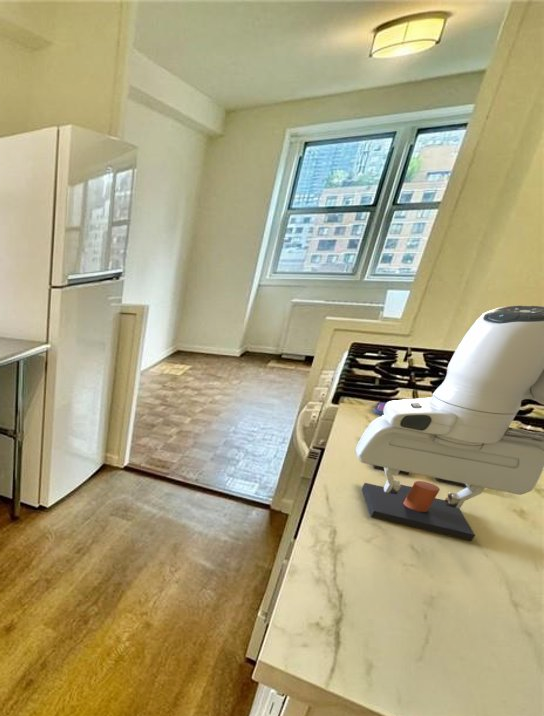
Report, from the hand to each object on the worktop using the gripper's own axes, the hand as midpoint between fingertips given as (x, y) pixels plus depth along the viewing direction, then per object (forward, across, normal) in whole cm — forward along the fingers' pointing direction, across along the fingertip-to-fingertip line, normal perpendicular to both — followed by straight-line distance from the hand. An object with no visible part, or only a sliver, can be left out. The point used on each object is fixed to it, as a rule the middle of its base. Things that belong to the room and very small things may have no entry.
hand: (419, 498), depth 77 cm
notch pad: (+3, -4, -22) cm, 23 cm away
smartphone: (+3, -9, -49) cm, 50 cm away
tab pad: (+3, 0, -1) cm, 3 cm away
